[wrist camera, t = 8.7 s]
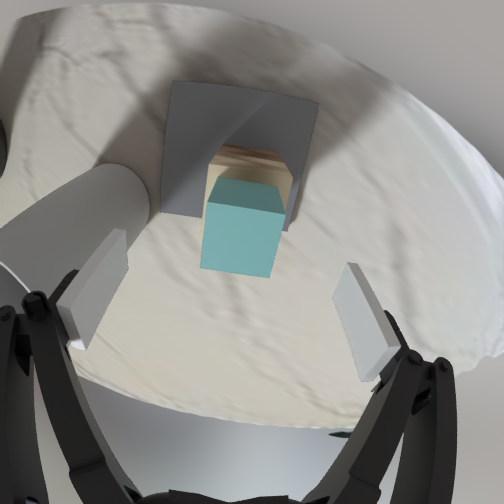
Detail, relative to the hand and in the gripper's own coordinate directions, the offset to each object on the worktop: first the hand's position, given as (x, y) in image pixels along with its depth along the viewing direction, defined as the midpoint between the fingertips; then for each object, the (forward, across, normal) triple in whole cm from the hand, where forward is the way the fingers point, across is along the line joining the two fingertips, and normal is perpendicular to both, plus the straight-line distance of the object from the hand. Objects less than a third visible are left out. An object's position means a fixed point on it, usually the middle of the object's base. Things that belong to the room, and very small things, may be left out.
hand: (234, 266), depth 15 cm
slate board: (+22, -1, +2) cm, 23 cm away
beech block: (+15, +1, 0) cm, 15 cm away
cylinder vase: (+23, -18, -7) cm, 30 cm away
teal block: (+9, 0, 0) cm, 9 cm away
